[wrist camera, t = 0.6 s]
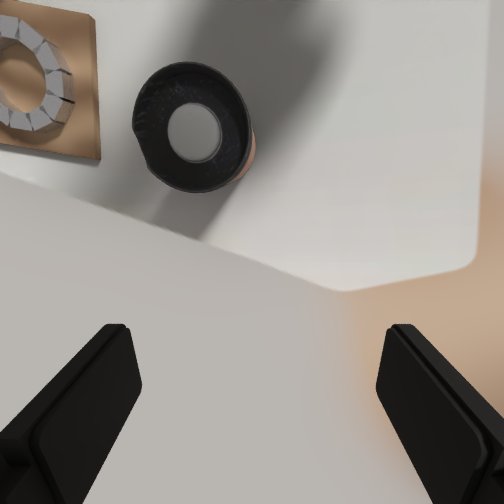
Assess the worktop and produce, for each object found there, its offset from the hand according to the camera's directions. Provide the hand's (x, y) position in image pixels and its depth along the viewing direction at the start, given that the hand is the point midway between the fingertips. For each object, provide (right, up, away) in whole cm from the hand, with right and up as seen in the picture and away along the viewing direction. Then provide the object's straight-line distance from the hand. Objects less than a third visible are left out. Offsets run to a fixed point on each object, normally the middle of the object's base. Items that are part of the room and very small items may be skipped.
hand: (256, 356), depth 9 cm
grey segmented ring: (-28, +25, +22) cm, 44 cm away
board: (-28, +26, +23) cm, 45 cm away
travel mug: (-3, +18, +25) cm, 31 cm away
